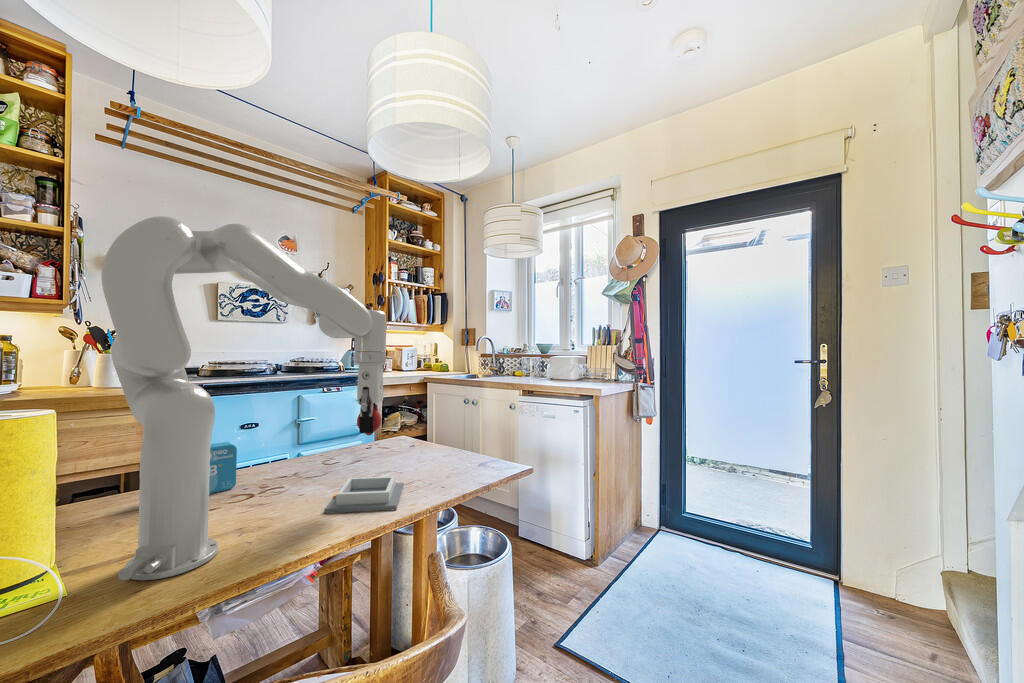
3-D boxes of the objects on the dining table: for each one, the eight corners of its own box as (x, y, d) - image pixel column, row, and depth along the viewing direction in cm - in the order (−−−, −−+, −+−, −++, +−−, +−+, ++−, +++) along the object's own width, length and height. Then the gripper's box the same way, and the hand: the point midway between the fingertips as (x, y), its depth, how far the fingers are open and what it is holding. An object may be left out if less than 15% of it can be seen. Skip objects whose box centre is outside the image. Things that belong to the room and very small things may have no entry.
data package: (178, 500, 98) (179, 451, 98) (175, 496, 101) (176, 448, 101) (236, 488, 107) (237, 443, 107) (231, 484, 110) (232, 440, 110)
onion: (376, 438, 98) (376, 405, 98) (352, 437, 98) (353, 405, 99) (384, 433, 104) (384, 402, 104) (362, 432, 104) (362, 402, 104)
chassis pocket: (396, 509, 94) (396, 494, 94) (324, 513, 92) (324, 498, 92) (403, 486, 110) (403, 473, 110) (342, 488, 108) (342, 475, 108)
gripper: (380, 360, 94) (378, 437, 93) (390, 358, 111) (389, 423, 110) (346, 359, 92) (344, 438, 92) (361, 357, 109) (360, 423, 109)
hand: (369, 429), depth 101 cm, fingers closed on onion, 5 cm apart
